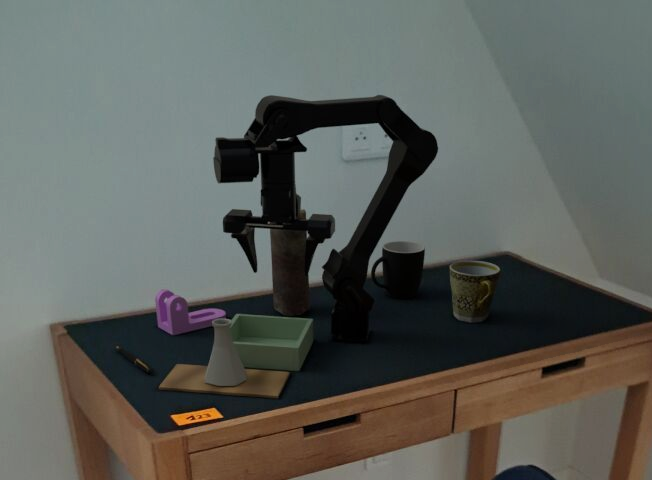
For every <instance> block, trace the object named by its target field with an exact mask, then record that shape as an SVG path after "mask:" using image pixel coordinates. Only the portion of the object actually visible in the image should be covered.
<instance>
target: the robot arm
mask: <svg viewBox="0 0 652 480" xmlns="http://www.w3.org/2000/svg"><path fill="white" fill-rule="evenodd" d="M254 113H255V114H254V119H253V120H252V121H251V123H250V125H249V127H248V128H247V130H246V132H245V133H244V135H243V137H235V138H234V137H233V138H232V137H231V138H228V137H224V136H220V137H215V140H214V141H215V146H214V156H213V157H212V158H213V159H212V160H213V161H212V162H213V170H214V176H215V179H216V181H217V184H239V183H253V182H254V179H257V178H258V176H259V174H260V187H261V189H260V206H261V209H262V212H261V213H262V214H261V216H259V215H258V216H257V215H253V212H252V210H251V209H241V208H240V209H238V208H232V209H231V210H229V212H227V213H226V214H225V215H224V216H223V218H222V232H223V233H225V234H230V238H231V239H235V240H236V241H237V242H238V244H239V245H240V248H241V250H242V252H243V253H244V255H245V256H246V258H247V260H248V263H249V265H250V267H251V269H252V271H253V273H254V274H257V273H258V256H257V248H256V241H255V233H256V232H255V230H256V229H267V230H268V229H269V230H270V229H282V230H299V231H307V239H306V248H305V265H304V271H305V276H307V275H309V274H310V269H311V267H312V264H313V259H314V256H315V253H316V250H317V248H318V246H319V244H324V243H325V242H326V240H330V239H332V237H333V235H334V233H335V232H336V218H335V217H334V216H333V214H325V213H324V214H323V213H312V214H311V215H310V216H309V218H306V219H296V216H297V217H298V216H300V212H301V210H302V196H301V195H299V194H298V193H297V187H296V186H297V184H296V161H295V159H296V156H295V155H296V154H295V153H306V152H307V151H308V147H306V146H305V145H304V144H303V143H302V141H301V140H300V139H299V137H298V136H301V135H303V134H305V133H307V132H310V131H313V130H316V129H321V128H323V129H324V128H334V127H346V126H347V127H348V126H361V125H373V124H374V125H375V124H378V126H380V128H381V129H382V130H383V132H384V133H385V135H386V136H387V137H388V138H389V139H390V140H391V141H392V143H391V146H390V149H389V152H388V159H387V165H386V171H385V174H384V175H383V177H382V179H381V181H380V183H379V185H378V187H377V188H376V190H375V193H374V194H373V196H372V198H371V200H370V202H369V204H368V205H367V207H366V209H365V211H364V214H362V217H361V218H360V220H359V222H358V224H357V226H356V228H355V230H354V232H353V234H352V236H351V238H350V239H349V242H348V243H347V244H346V246H344V247H343V248H342V249H341V250H336V249H335V248H332V249H331V251H330V253H329V256H328V259H327V261H326V262H325V263H324V264H323V265H322V266H321V268H322V270H323V271H322V274H321V280H322V284H323V287H324V288H325V289H326V290H327V291H328V292H329V293H330V294H331V296H332V298H333V299H334V300H335V304H334V306H333V309H332V311H331V313H330V315H331V316H330V320H331V321H330V324H331V325H330V331H331V332H330V333H331V335H332V337H331V338H332V339H331V340H332V341H334V342H350V343H361V344H362V343H363V344H364V343H367V342H368V338H369V336H370V332H371V328H370V311H372V308H373V305H374V303H375V299H374V298H373V297H372V296H371V295H370V294H369V293H368V292H367V291H366V290H365V289H364V286H365V283H366V280H367V278H368V272H369V263H370V260H371V257H372V255H373V253H374V251H375V249H376V248H377V246H378V243H379V242H380V240H381V239H382V236H383V235H384V233H385V231H386V230H387V228H388V226H389V224H390V222H391V220H392V219H393V216H394V215H395V213H396V211H397V209H398V208H399V206H400V204H401V202H402V200H403V198H404V196H405V195H406V193H407V191H408V189H409V188H410V186H411V185H412V184H413V183H414V182H416V181H417V180H418V179H419V178H420V177H422V176H423V175H424V174H425V173H426V171H427V170H428V168H429V167H430V166H431V164H433V162H434V161H435V159H436V158H437V155H438V152H439V146H438V140H437V137H436V136H435V135H434V134H433V132H431V131H430V130H427V129H424V128H422V127H420V125H418V124H417V123H416V122H415V121H414V120H413V119H412V118H411V117H410V116H409V115H408V114H407V113H406V112H404V111H403V110H402V108H401V107H400V105H398V104H397V102H396V101H395V99H393V98H392V97H388V96H386V95H383V94H377V95H375V96H366V97H351V98H350V97H349V98H338V99H321V100H305V99H300V98H295V97H289V96H281V95H273V94H272V95H271V94H270V95H266V96H264V97H262V98H261V99H260V101H259V102H258V104H257V105H256V107H255V112H254ZM269 222H275V223H276V224H273V223H272V224H270V223H269ZM283 223H284V224H283ZM285 223H286V224H291V225H286V224H285Z"/></svg>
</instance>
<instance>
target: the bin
mask: <svg viewBox="0 0 652 480" xmlns="http://www.w3.org/2000/svg"><path fill="white" fill-rule="evenodd" d="M230 320H231V321H232V322H231V326H230V332H231V336H232V340H233V343H234V346H235V348H236V351H237V353H238V355H239V358H240V360H241V362H242V364H243V366H244V368H247V369H261V370H275V371H288V372H290V371H291V372H300V370H301V368H302V366H303V365H304V362H305V360H306V358H307V356H308V353H309V351H310V349H311V348H312V345H313V343H314V318H306V317H305V318H304V317H303V318H302V317H292V316H276V315H259V314H245V313H236V314H235V315H234V316H233V317H232V319H230Z"/></svg>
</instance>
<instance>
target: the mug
mask: <svg viewBox="0 0 652 480" xmlns="http://www.w3.org/2000/svg"><path fill="white" fill-rule="evenodd" d="M381 248H382V249H381V250H382V251H381V256H380V257H379V258H377V259H376V260H375V261H374V263H373V264H372V266H371V272H370V276H371V280H372V282H373V283H374V285H375V286H376V287H378V288H381V289H384V290H385V292H386V295H387V296H388V297H391V298H393V299H399V300H408V299H412V298H414V297H416V296H417V294H418V292H419V290H420V286H421V282H422V278H423V272H424V264H425V255H426V254H425V253H426V248H425V246H424V245H423V244H421V243H419V242H414V241H410V240H409V241H408V240H395V241H394V240H393V241H388V242H385V243H384V244H382V247H381ZM380 264H381V265H382V279H383V283H380V282H378V280H377V278H376V272H377V267H378V266H379V265H380Z"/></svg>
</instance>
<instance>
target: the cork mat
mask: <svg viewBox="0 0 652 480" xmlns="http://www.w3.org/2000/svg"><path fill="white" fill-rule="evenodd" d="M207 368H208V365H198V364H185V363H176V364H175V365H174V367H173V368H172V369H171V371H170V372H168V374H167V375H166V377H165V378H164V379H163V381H162V382H161V383H160V385H159V386H158V390H159V391H172V392H174V391H175V392H183V393H184V392H186V393H198V394H212V395H214V394H215V395H224V396H225V395H226V396H238V397H252V398H266V399H279V398H280V395H281V393H282V391H283V389H284V387H285V385H286V383H287V381H288V379H289V377H290V375H291V373H290V371H284V370H270V369H256V368H245V371H246V380H245V381H243V382H241V383H240V384H238V385H236V386H217V385H213V384H210V383H206V382H205V375H206V371H207Z"/></svg>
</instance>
